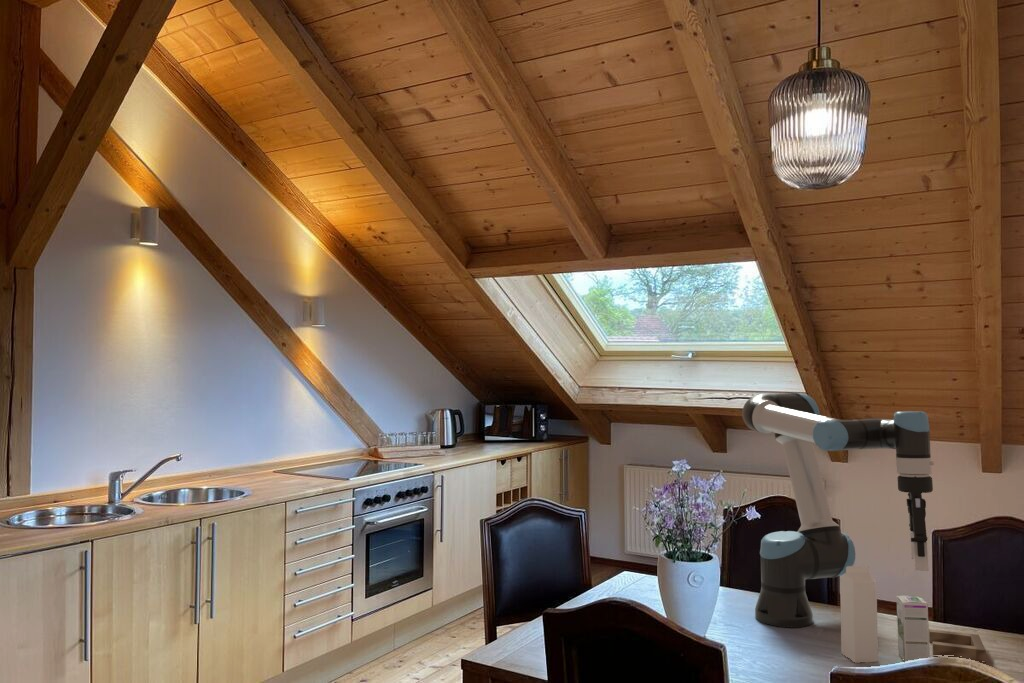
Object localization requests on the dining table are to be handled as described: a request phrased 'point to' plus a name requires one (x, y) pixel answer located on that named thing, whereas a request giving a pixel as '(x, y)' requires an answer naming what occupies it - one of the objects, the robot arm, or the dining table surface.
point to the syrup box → (912, 628)
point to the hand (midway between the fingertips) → (919, 564)
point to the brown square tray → (957, 645)
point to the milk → (859, 615)
